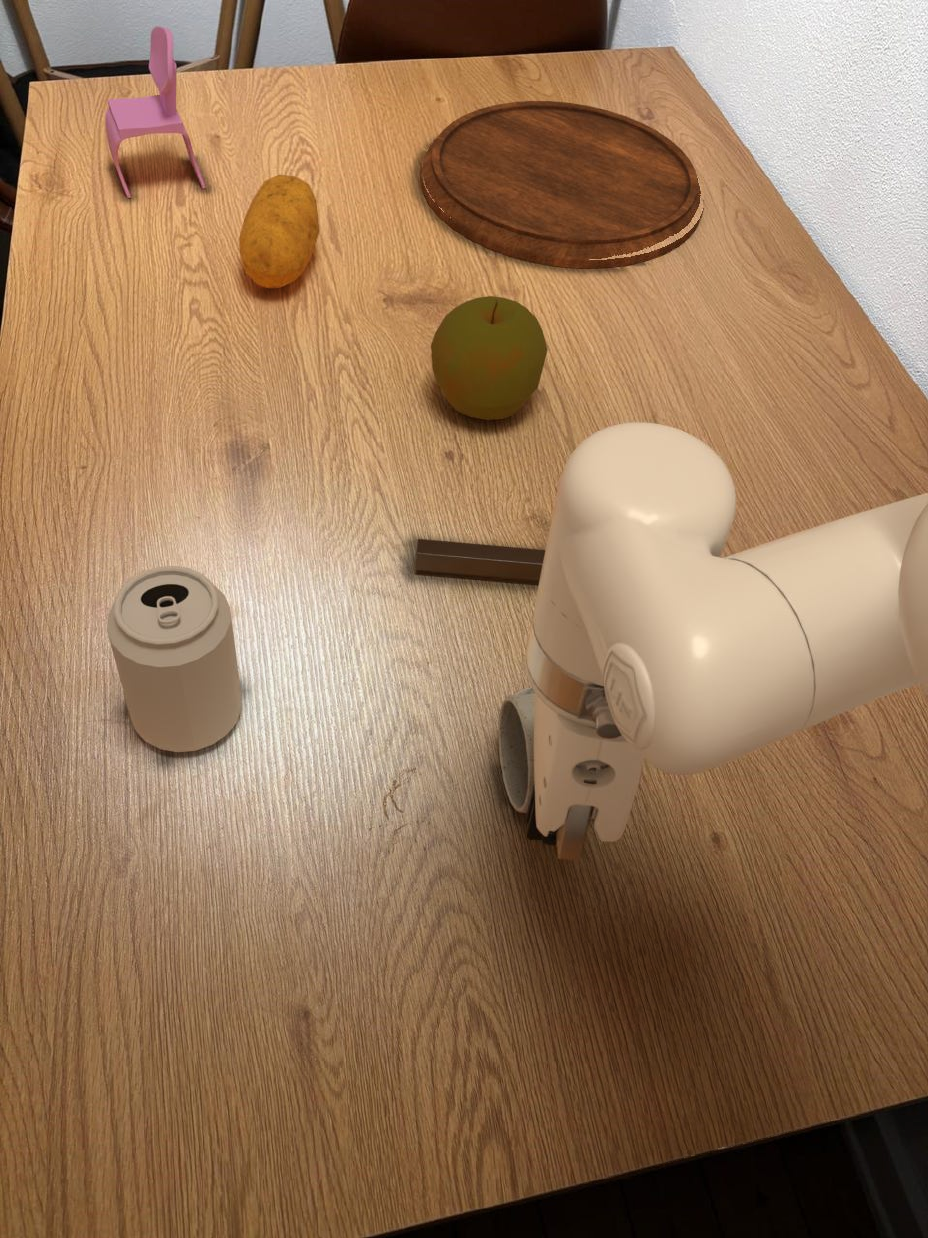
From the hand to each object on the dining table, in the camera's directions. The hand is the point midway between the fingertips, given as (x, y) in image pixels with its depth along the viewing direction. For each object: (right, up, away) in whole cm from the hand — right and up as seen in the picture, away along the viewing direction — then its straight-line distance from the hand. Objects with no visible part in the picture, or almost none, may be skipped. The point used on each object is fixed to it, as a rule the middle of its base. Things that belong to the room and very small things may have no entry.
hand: (551, 829), depth 69 cm
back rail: (+1, +16, +18) cm, 24 cm away
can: (-24, +7, +8) cm, 26 cm away
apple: (-4, +32, +31) cm, 45 cm away
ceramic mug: (+1, +3, +7) cm, 8 cm away
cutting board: (+6, +62, +56) cm, 84 cm away
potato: (-24, +48, +42) cm, 69 cm away
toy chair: (-38, +60, +50) cm, 88 cm away
